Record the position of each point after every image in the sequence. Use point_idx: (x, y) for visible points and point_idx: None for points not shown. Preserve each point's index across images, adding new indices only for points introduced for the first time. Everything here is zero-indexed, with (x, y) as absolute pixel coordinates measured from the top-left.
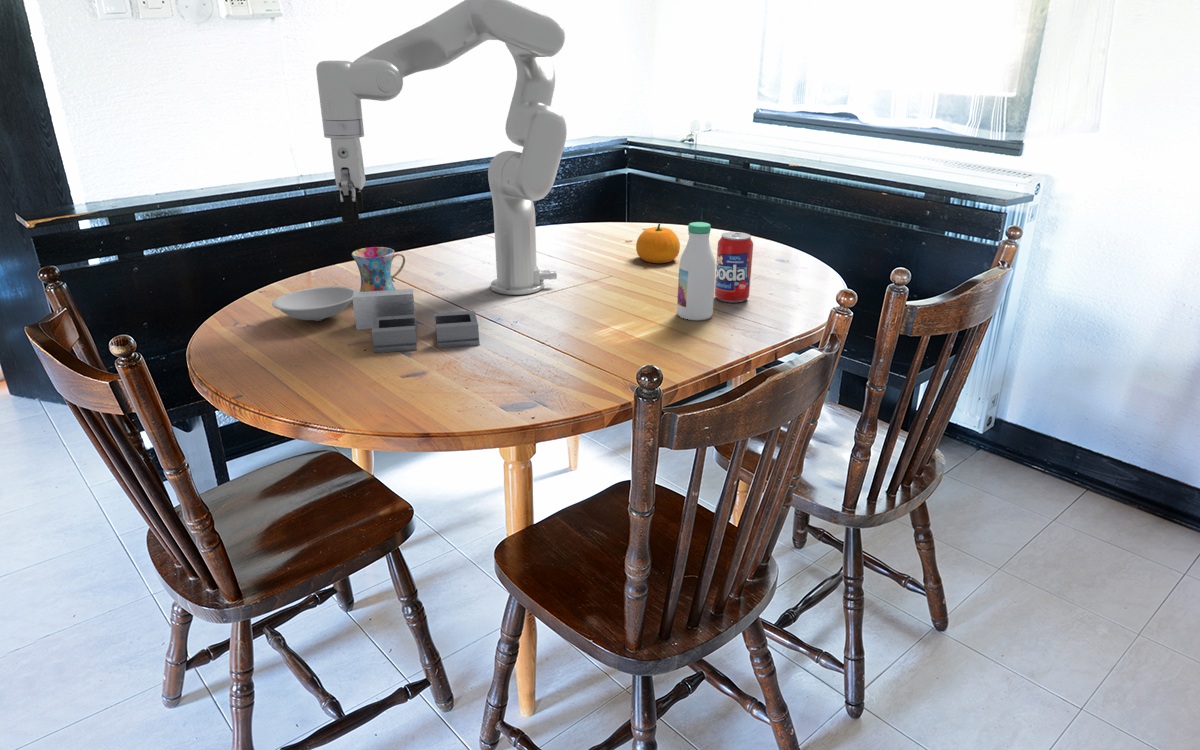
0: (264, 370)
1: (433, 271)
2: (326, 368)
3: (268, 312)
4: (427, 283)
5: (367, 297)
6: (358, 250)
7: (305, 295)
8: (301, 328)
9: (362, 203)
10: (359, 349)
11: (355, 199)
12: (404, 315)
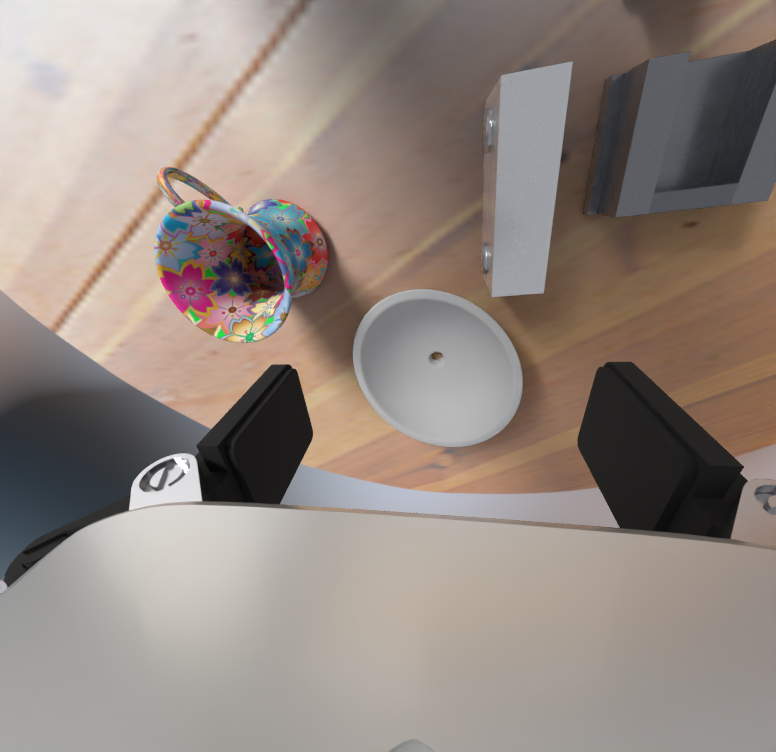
0: (702, 403)
1: (34, 109)
2: (770, 298)
3: (382, 435)
4: (148, 113)
5: (548, 248)
6: (209, 328)
7: (385, 398)
8: None
9: (266, 389)
10: (676, 240)
11: (755, 495)
12: (641, 103)
